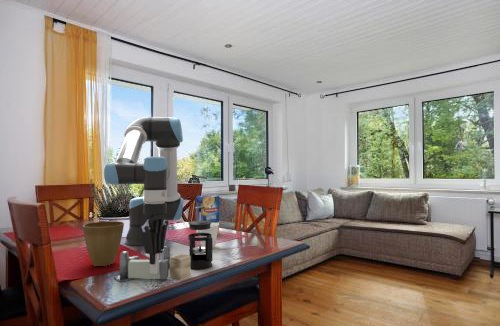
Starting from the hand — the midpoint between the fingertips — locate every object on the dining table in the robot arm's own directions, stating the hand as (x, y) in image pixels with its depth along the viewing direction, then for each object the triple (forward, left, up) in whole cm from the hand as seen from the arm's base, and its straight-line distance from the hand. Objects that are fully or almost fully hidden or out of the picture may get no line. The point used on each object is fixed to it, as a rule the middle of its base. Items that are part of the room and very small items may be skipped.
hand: (154, 273), depth 104 cm
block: (+7, +6, -3) cm, 10 cm away
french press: (+10, +18, -3) cm, 21 cm away
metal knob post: (-11, +3, -3) cm, 12 cm away
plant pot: (-29, +15, -3) cm, 33 cm away
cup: (+5, +46, -3) cm, 47 cm away
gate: (-3, +2, -2) cm, 4 cm away
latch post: (-2, +15, -3) cm, 15 cm away
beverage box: (-3, +72, -3) cm, 72 cm away
